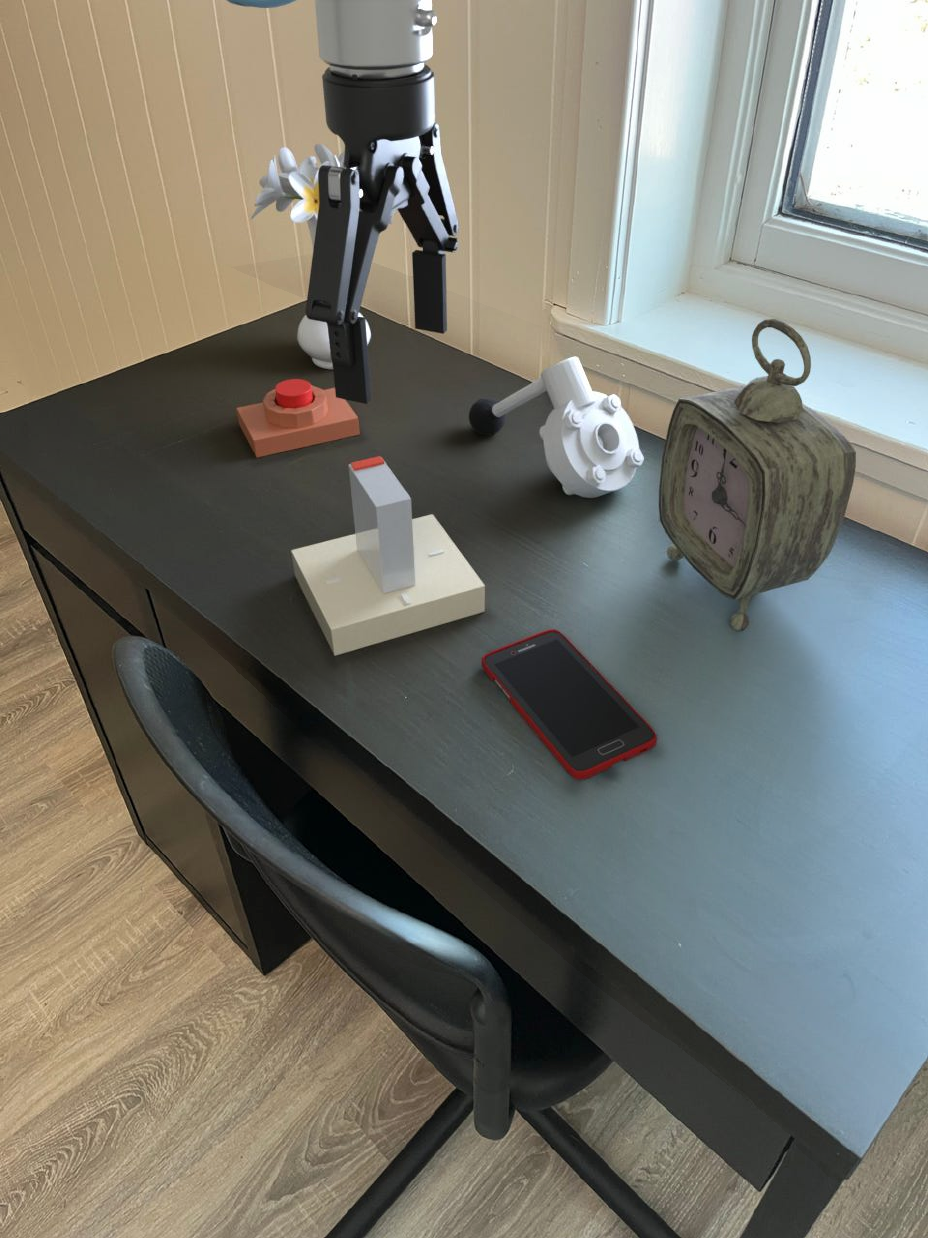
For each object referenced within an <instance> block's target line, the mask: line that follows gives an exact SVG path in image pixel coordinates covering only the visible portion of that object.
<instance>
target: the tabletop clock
mask: <svg viewBox="0 0 928 1238" xmlns="http://www.w3.org/2000/svg"><path fill="white" fill-rule="evenodd" d="M767 328H772V329H774V330H777V331H779V332H780V333H782V334H783V335H785V336H787V337H788V338H789V339H790V340H791V341H792V342H793V343H794V345H795V346H796V347H797V349H798V350H799V353H800V355H801V358H802V361H803V373H802V375H801V376H799V377H793V376H789V375H787V374H786V373H784V370H785V367H786V363H785V361H784V360H783V359H781V358H775V359H773V360H772V361H771V362H769V360H768V359H767V358H766V357H765V355H764V354H763V352H762V350H761V348H760V346H759V336H760V333H761V332H762V331H763V330H765V329H767ZM751 344H752V345H751V348H752V351H753V354H754V358H755V360H756V361H757V364H758V365H759V366H760V367H761V368H762V370H763V371H764V372H765V373H766V375H764V376H759V377H755V378H753V379H752V380H750V381H749V382H748V383H747V384H746V385H740V386H736V387H731V388H726V389H720V390H717V391H716V390H715V391H711V392H705V393H702V394H696V395H692V396H687V397H681V398H679V399H678V400H677V403H676V405H675V406H674V408H673V410H672V413H671V417H670V420H669V424H668V428H667V431H666V437H665V441H664V447H663V451H662V457H661V468H660V476H659V487H658V513H659V514H658V516H659V522H660V524H661V526H662V528H663V530H664V532H665V534H666V535H667V537H668V538H669V540H670V541H671V542H672V544H671V545H670V546H669V547H667V550H666V555H667V557H668V558H669V559H670V560H671V561H675V562H677V561H680V560H681V559H683V558H684V559H685V560H686V561H687V563H689V565H690V566H691V567H692V568H693V569H694V570H695V571H696V572H697V573H698V574H699V575H700V576H701V577H702V578H703V579H704V580H705V581H706V582H708V584H709V585H710V586H712V587H713V588H714V589H715V590H716V591H717V592H718V593H720V594H721V595H723V596H724V597H726V598H729V599H731V600H733V601H736V600H740V601H739V608H738V612H735V613H733V615H732V616H731V617H730V619H729V624H730V626H731V628H732V629H733V630H734V631H737V632H743V631H745V630H746V629H747V628H748V627H749V625H750V622H751V620H750V617H749V616H748V615H747V613H746V612H747V609H748V606H749V604H750V601H751V598H752V596H755V595H758V594H762V593H765V592H770V591H772V590H776V589H780V588H783V587H784V588H785V587H786V586H790V585H795V584H798V583H802V582H806V581H808V580H809V579H810V578H812V576H813V575H814V574H815V573H816V572H817V570H818V569H819V568H820V567H821V566H822V565H823V563H824V562H825V561H826V560H827V559H828V557H829V555H830V554H831V552H832V550H833V548H834V546H835V543H836V540H837V537H838V535H839V532H840V530H841V527H842V524H843V521H844V519H845V516H846V513H847V509H848V505H849V500H850V497H851V492H852V489H853V485H854V481H855V475H856V468H857V452H856V450H855V448H854V446H853V445H852V444H851V442H850V440H849V439H848V438H847V437H846V436H845V435H844V434H843V433H842V432H841V431H840V430H838V429H837V428H836V426H833V424H832V423H830V422H829V421H828V420H826V419H825V418H824V417H822V415H820V414H819V413H818V412H817V411H815V410H813V409H812V408H811V407H809V406H808V405H806V404H804V403H803V399H802V396H801V394H800V393H799V391H798V390H797V388H796V387H798V386H800V385H802V384H804V383H805V382H806V381H807V379H808V378H809V376H810V374H811V369H812V360H811V359H812V357H811V354H810V350H809V348H808V344H807V343H806V341H805V340H804V338H803V336H802V335H801V334H800V333H799V332H798V331H796V329H795V328H794V327H792V326H790V325H789V324H787V323H786V322H784V321H782V320H780V319H776V318H769V319H768V318H767V319H764V320H762V321H760V322H758V324H757V325H756V327H755V328H754V330H753V333H752V334H751Z"/></svg>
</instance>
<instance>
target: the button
mask: <svg viewBox="0 0 928 1238" xmlns="http://www.w3.org/2000/svg"><path fill="white" fill-rule="evenodd" d="M311 385H312V383H310V381H307V380H305V379H301V378H300V379H299V378H291V379H286V380H283V381H281V382H279V383H277V384H276V385H275V388H274V389H275V392H276V398H277V404H278V405H279V406H280V407H283V408H300V407H305V406H307V405H309V404H311V403H312V401H313V396H312V388H311Z"/></svg>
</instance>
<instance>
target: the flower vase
mask: <svg viewBox="0 0 928 1238" xmlns="http://www.w3.org/2000/svg"><path fill="white" fill-rule="evenodd" d="M314 153H315V155H316V156H315V155H310V156H307V157H306V158H304V159H303V160H302V161H301V163H300V164H299V166H298V164H297V162H296V159H295V156H294V154H293V152H292V151H291V150H290V148H288V147H285V146H283V147H281V148H280V149H279V151H278V156H277V158H276V154H274V155H273V159H270V162H269V165H268V169H267V174H266V175H263V176H261V178H260V179H259V185H260V187H261V188H262V189H261V191H260V192H259V194H258V196H257V197H256V200H255V203H254V207H256V209H255V210H254V212H253V214H252V215H251V218H250V221H251V220H253V219H254V218H255V217H256V216H257V215H259V214H260V213H261V212H262V211H264V210H265V209H266V208H268V207H269V206H270V205H272V204H273V203H275V209H276V211H277V212H279V213H282V212H284V211H286V210H287V209H288V208H289V207H290V205H291V204H292V203H293V202H294V201H295V200H299V201H297V202H296V204H295V205H293V207H292V208H291V211H290V213H289V217H290V220H291V221H292V223H295V224H302V223H305V222H306V223H307V226H308V231H309V235H310V239H311V244H312V250H313V249H314V241H315V234H316V226H317V218H318V210H319V184H318V172H319V168H320V167H321V166H322V165H326V166H335V167H340V166H343V162H344V154H345V149H344V150H342V151H341V153H340V154H339V155H338V157H337V155H336V154H335V153H334V155H333V153H332V152H331V150H330V149H328V147H326V146H325V145H323V144H322V143H315V145H314ZM316 157H317V158H316ZM277 159H278V160H277ZM317 159H318V160H319V162H320V165H319V166H317V163H318V161H317ZM277 162H278V165H277ZM277 166H279V169H280V171H281V173H279V171H278V167H277ZM340 204H341V203H340ZM359 211H361V209H360V208H359ZM393 221H394V214H393V215H392V216H390V220H389V224H388V225H392V224H393ZM346 304H347V303H346ZM358 317H364V316H363V314H362V313H361V312H360V311H359V314H358ZM365 321H366V334H367V347H369V343H370V342H371V339H372V333H371V328H370V325H369V322H368V321H367V319H366V318H365ZM296 331H297V332H296V341H297V344H298V345H299V347H300V348H301V350H302V351H303V352H304V353H305V354H306V355H308V356H309V357H311V360H312V362H313V364H314V365H316V366H317V367H318V368H321V369H324V370H325V369H326V370H333V365H332V359H331V354H330V351H331V350H330V344H329V335H328V326H327V323H326V322H321V321H316V320H311V319H308V318H307V316H306V314H304V316H303V318H302V319H301V320H300V322H299V324H298V326H297V330H296Z"/></svg>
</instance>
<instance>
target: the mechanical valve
mask: <svg viewBox="0 0 928 1238" xmlns="http://www.w3.org/2000/svg"><path fill="white" fill-rule="evenodd" d="M545 392H547V395H548V397H549V399H550V402H551V404H552V406H553V409H552V410H551V411H550V413H549V414H548V416H547V419H546V420H545V421H546V422H545V423H544V424H543V425H542V426H541V427H540V428H539V436H540V438H541V439H542V440H543V448H544V456H545V460H546V465H547V467H548V468H549V469H548V470H550V472H551V473H552V474H553V475H554V477H555V478H556V480H557V481H558V482H559V483H560V484H561V485H562V490H563V492H564V493H565V495H568V496H573V495H577V496H579V497H581V498H588V499H595V498H599V497H601V496H604V495H607V494H610V493H612V492H615V491H618V490H621V489H623V488H624V487H625V486H627V485H629V483H630V482H631V481H632V480H633V478H634V476H635V474H636V472H637V469H638V468H639V467H641V466H642V464H643V463H644V460H645V458H644V455H643V452H642V451H641V450H640V444H639V439H638V435H637V431H636V429H635V426H634V423H633V422H632V420H631V418H630V416H629V414H628V413H627V412H626V410H625V409H624V408H623V407H622V401H621V399H620V397H619V396H617V395H616V394H615V393H613V394H611V395H607V394H605V393H602V392H599V391H594V390H592V387H591V385H590V382H589V381H588V378H587V375H586V373H585V371H584V368H583V366H582V362H581V361H580V359H579V357H577V356H571V357H568V358H565V359H563V360H561V361H558V362H557V363H555V364H553V365H551V366H549V367H547V368H545V369H543V370H542V371H541V373H540V378H538V379H536V380H534V381H533V382H531V383H530V384H528V385H526V386H524V387H522V388H521V389H520V390H517V391H516V392H514V393H512V394H510V395H509V396H507V397H505V398H504V399H502V400H500V401H499V400H497V399H496V398H493V397H481V398H479V399H477V400H476V401H475V402H473V404H471V407H470V409H469V412H468V421H469V425H470V427H471V428H472V429H473V430H474V431H475V432H476V433H477V434H479V435H483V436H492V435H495V434H497V433H499V432H500V431H501V430H502V428H503V427H504V426H505V423H506V420H507V415H506V414H508V413H509V412H511V411H513V410H515V409H516V408H518V407H520V406H522V405H524V404H525V403H527V402H530V401H531V400H533V399H535V398H536V397H538V396H540V395H542V394H544V393H545Z"/></svg>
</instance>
